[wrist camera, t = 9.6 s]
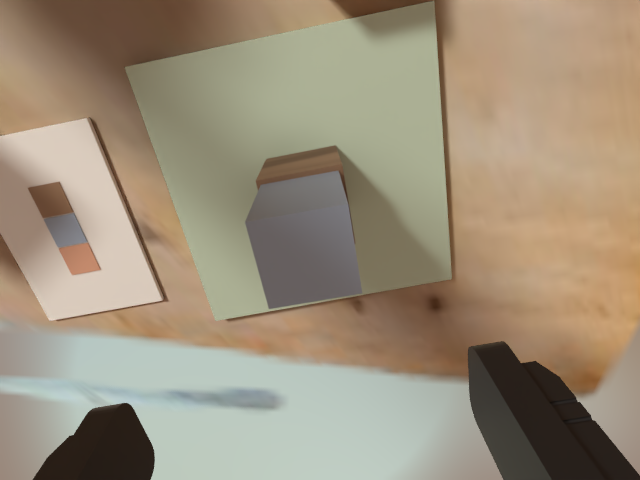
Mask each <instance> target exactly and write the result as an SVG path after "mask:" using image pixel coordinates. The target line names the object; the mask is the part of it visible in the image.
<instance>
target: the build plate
mask: <svg viewBox="0 0 640 480" xmlns="http://www.w3.org/2000/svg"><path fill="white" fill-rule="evenodd" d="M125 70H126V73H127V76H128V79H129V81H130V84H131V87H132V90H133V93H134V95H135V98H136V101H137V104H138V106H139V109H140V112H141V115H142V118H143V120H144V123H145V126H146V129H147V131H148V134H149V137H150V140H151V143H152V145H153V148H154V151H155V154H156V156H157V159H158V162H159V165H160V168H161V170H162V173H163V176H164V179H165V182H166V184H167V187H168V190H169V193H170V195H171V198H172V201H173V204H174V207H175V209H176V212H177V215H178V218H179V220H180V223H181V226H182V229H183V232H184V234H185V237H186V240H187V243H188V246H189V248H190V251H191V254H192V257H193V259H194V262H195V265H196V268H197V271H198V273H199V276H200V279H201V282H202V284H203V287H204V290H205V293H206V296H207V298H208V301H209V304H210V307H211V310H212V312H213V315H214V318H215V321H218V320H224V319H229V318H235V317H241V316H246V315H252V314H258V313H263V312H269V311H275V310H280V309H286V308H292V307H297V306H303V305H309V304H314V303H320V302H326V301H331V300H337V299H343V298H348V297H354V296H360V295H365V294H371V293H377V292H382V291H388V290H394V289H399V288H405V287H411V286H416V285H422V284H428V283H433V282H439V281H445V280H450V279H452V273H451V257H450V241H449V225H448V209H447V193H446V178H445V162H444V146H443V130H442V114H441V98H440V82H439V66H438V50H437V34H436V19H435V3H434V1H430V2H425V3H420V4H416V5H411V6H406V7H402V8H397V9H392V10H388V11H383V12H378V13H374V14H369V15H364V16H360V17H355V18H350V19H346V20H341V21H336V22H332V23H327V24H322V25H318V26H313V27H309V28H304V29H299V30H295V31H290V32H285V33H281V34H276V35H271V36H267V37H262V38H257V39H253V40H248V41H243V42H239V43H234V44H229V45H225V46H220V47H215V48H211V49H206V50H201V51H197V52H192V53H187V54H183V55H178V56H173V57H169V58H164V59H160V60H155V61H150V62H146V63H141V64H136V65H132V66H127V67H125ZM334 145H336V148H337V151H338V154H339V157H340V159H341V162H342V166H343V172H344V178H345V184H346V190H347V196H348V202H349V208H350V214H351V219H352V225H353V231H354V237H355V243H356V244H355V250H356V256H357V262H358V269H359V275H360V281H361V288H362V294H356V295H350V296H344V297H338V298H332V299H326V300H320V301H314V302H309V303H303V304H297V305H291V306H285V307H279V308H273V309H269V308H268V304H267V300H266V297H265V293H264V290H263V286H262V282H261V279H260V275H259V272H258V268H257V264H256V261H255V257H254V253H253V250H252V246H251V243H250V239H249V235H248V232H247V228H246V225H245V221H246V218H247V216H248V214H249V211H250V209H251V207H252V204H253V202H254V200H255V197H256V195H257V193H258V189H257V185H256V179H257V177H258V175H259V173H260V171H261V169H262V167H263V164H264V162H265V160H266V159H268V158H273V157H279V156H284V155H289V154H294V153H299V152H304V151H309V150H314V149H319V148H324V147H329V146H334Z"/></svg>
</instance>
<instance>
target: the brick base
mask: <svg viewBox="0 0 640 480" xmlns="http://www.w3.org/2000/svg"><path fill="white" fill-rule="evenodd" d="M338 170H339V174H340V177H341V181H342V184H343V188H344V191H345V195H346V198H347V201H348V196H347V190H346V184H345V178H344V172H343V166H342V162H341V159H340V157H339V154H338V151H337V148H336V145H334V146H329V147H324V148H319V149H314V150H309V151H304V152H299V153H294V154H289V155H284V156H279V157H273V158H268V159H266V160H265V162H264V164H263V167H262V169H261V171H260V173H259V175H258V177H257V179H256V185H257V189H258V190H259V188H260V185H262V184H268V183H273V182H278V181H284V180H289V179H295V178H300V177H306V176H311V175H317V174H322V173H327V172H333V171H338ZM348 206H349V202H348ZM349 212H350V208H349ZM350 218H351V214H350ZM351 225H352V219H351ZM352 231H353V225H352ZM353 237H354V231H353ZM354 244H356V243H355V237H354Z"/></svg>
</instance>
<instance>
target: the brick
mask: <svg viewBox="0 0 640 480" xmlns="http://www.w3.org/2000/svg"><path fill="white" fill-rule="evenodd" d="M245 225H246V228H247V232H248V235H249V239H250V243H251V246H252V250H253V253H254V257H255V261H256V264H257V268H258V272H259V275H260V279H261V282H262V286H263V290H264V293H265V297H266V300H267V304H268V308H269V309H273V308H279V307H285V306H291V305H297V304H303V303H309V302H314V301H320V300H326V299H332V298H338V297H344V296H350V295H356V294H362V288H361V281H360V275H359V269H358V262H357V256H356V250H355V244H354V237H353V231H352V225H351V218H350V212H349V206H348V201H347V198H346V195H345V191H344V188H343V184H342V181H341V177H340V174H339V170H338V171H333V172H327V173H322V174H317V175H311V176H306V177H300V178H295V179H289V180H284V181H278V182H273V183H268V184H262V185H260V188H259V190H258V193H257V195H256V197H255V200H254V202H253V204H252V207H251V209H250V211H249V214H248V216H247V218H246V221H245Z"/></svg>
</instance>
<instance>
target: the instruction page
mask: <svg viewBox="0 0 640 480" xmlns="http://www.w3.org/2000/svg"><path fill="white" fill-rule="evenodd" d="M0 234H1V235H2V237H3V239H4V241H5V242H6V244H7V246H8V248H9V250H10V251H11V253H12V255H13V257H14V258H15V260H16V262H17V264H18V265H19V267H20V269H21V271H22V273H23V274H24V276H25V278H26V280H27V281H28V283H29V285H30V287H31V288H32V290H33V292H34V294H35V296H36V297H37V299H38V301H39V303H40V304H41V306H42V308H43V310H44V311H45V313H46V315H47V317H48V319H49V320H50V321H52V320H58V319H63V318H69V317H74V316H80V315H85V314H91V313H96V312H102V311H108V310H113V309H119V308H124V307H130V306H135V305H141V304H146V303H152V302H157V301H162V300H163V299H164V297H163V294H162V292H161V290H160V287H159V285H158V282H157V280H156V277H155V275H154V273H153V270H152V268H151V265H150V263H149V260H148V258H147V256H146V253H145V251H144V248H143V246H142V243H141V241H140V239H139V236H138V234H137V231H136V229H135V226H134V224H133V222H132V219H131V217H130V214H129V212H128V209H127V207H126V205H125V202H124V200H123V197H122V195H121V192H120V190H119V188H118V185H117V183H116V180H115V178H114V175H113V173H112V171H111V168H110V166H109V163H108V161H107V158H106V156H105V154H104V151H103V149H102V146H101V144H100V141H99V139H98V137H97V134H96V132H95V129H94V127H93V124H92V122H91V120H90V117H89V118H84V119H80V120H75V121H70V122H65V123H60V124H56V125H51V126H46V127H41V128H37V129H32V130H27V131H22V132H17V133H13V134H8V135H3V136H0Z"/></svg>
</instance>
